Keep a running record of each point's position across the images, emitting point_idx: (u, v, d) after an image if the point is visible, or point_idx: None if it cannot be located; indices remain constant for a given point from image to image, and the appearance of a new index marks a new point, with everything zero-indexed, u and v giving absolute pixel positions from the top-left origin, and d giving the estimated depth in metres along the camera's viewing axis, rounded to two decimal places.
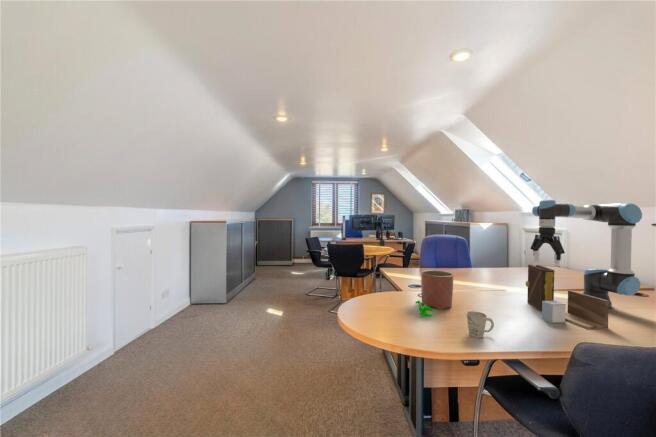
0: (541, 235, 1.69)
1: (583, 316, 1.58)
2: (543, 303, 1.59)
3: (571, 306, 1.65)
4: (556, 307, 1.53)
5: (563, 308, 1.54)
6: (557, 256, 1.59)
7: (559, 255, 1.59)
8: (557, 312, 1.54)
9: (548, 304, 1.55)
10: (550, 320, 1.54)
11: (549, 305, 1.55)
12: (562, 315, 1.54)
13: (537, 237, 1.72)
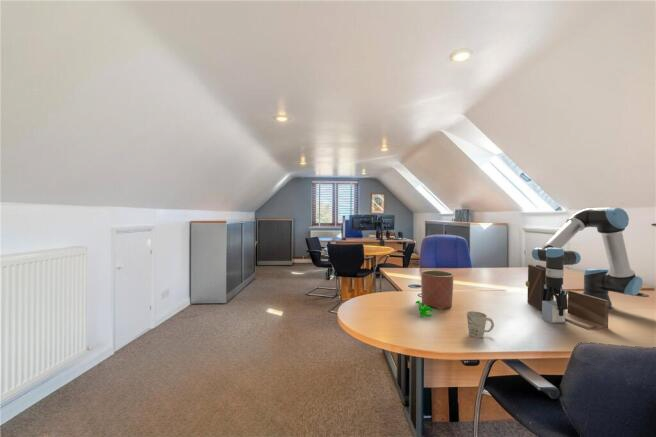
0: (547, 284, 1.59)
1: (583, 316, 1.58)
2: (543, 303, 1.59)
3: (571, 306, 1.65)
4: (556, 307, 1.54)
5: None
6: (559, 312, 1.52)
7: (562, 311, 1.52)
8: None
9: (548, 304, 1.56)
10: (550, 320, 1.54)
11: (549, 305, 1.55)
12: None
13: (544, 287, 1.61)
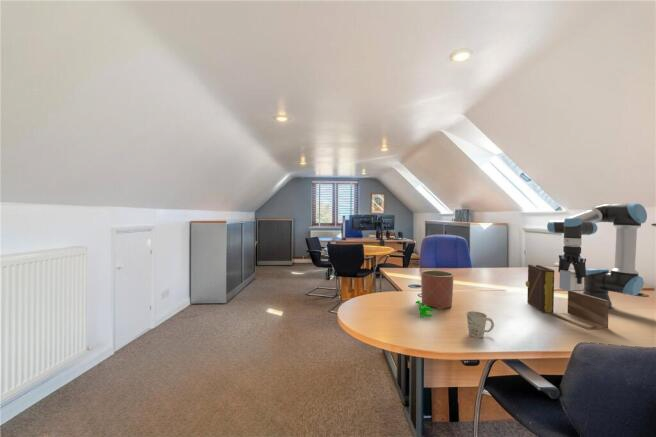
0: (565, 254, 1.61)
1: (583, 316, 1.58)
2: (561, 272, 1.61)
3: (571, 306, 1.65)
4: (574, 275, 1.56)
5: None
6: (578, 280, 1.55)
7: (580, 279, 1.54)
8: None
9: (566, 273, 1.58)
10: (568, 288, 1.56)
11: (567, 273, 1.57)
12: None
13: (562, 257, 1.64)
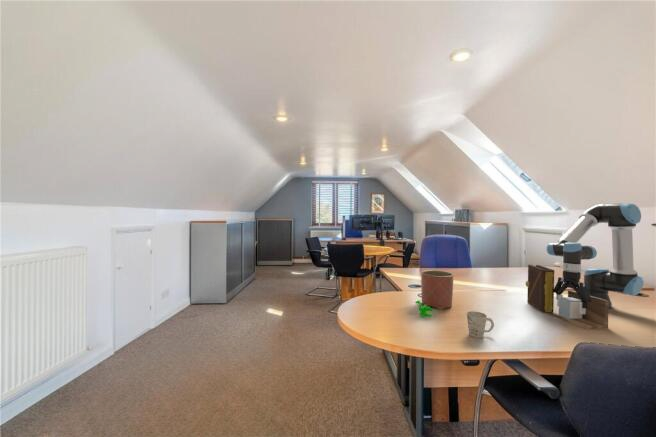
0: (565, 279, 1.61)
1: (583, 316, 1.58)
2: (560, 300, 1.61)
3: None
4: (573, 303, 1.56)
5: None
6: (583, 304, 1.52)
7: (585, 303, 1.51)
8: (574, 308, 1.56)
9: (565, 300, 1.58)
10: (567, 316, 1.57)
11: (566, 301, 1.57)
12: (579, 311, 1.57)
13: (560, 280, 1.64)
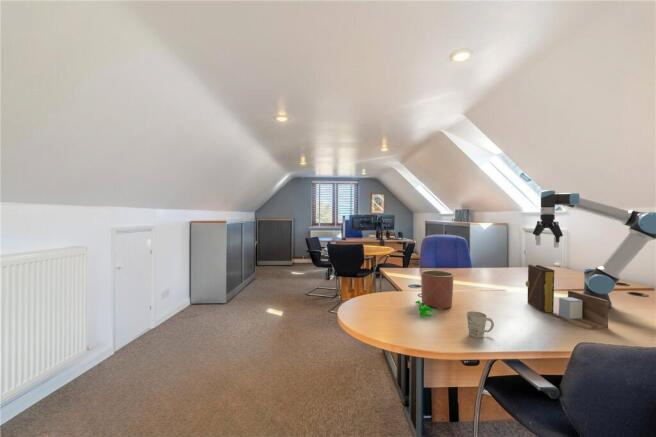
0: (542, 221, 1.93)
1: (583, 316, 1.58)
2: (560, 300, 1.61)
3: None
4: (573, 303, 1.56)
5: (580, 304, 1.57)
6: (556, 239, 1.83)
7: (558, 238, 1.83)
8: (574, 308, 1.56)
9: (565, 300, 1.58)
10: (567, 316, 1.57)
11: (566, 301, 1.57)
12: (579, 311, 1.57)
13: (539, 223, 1.96)
